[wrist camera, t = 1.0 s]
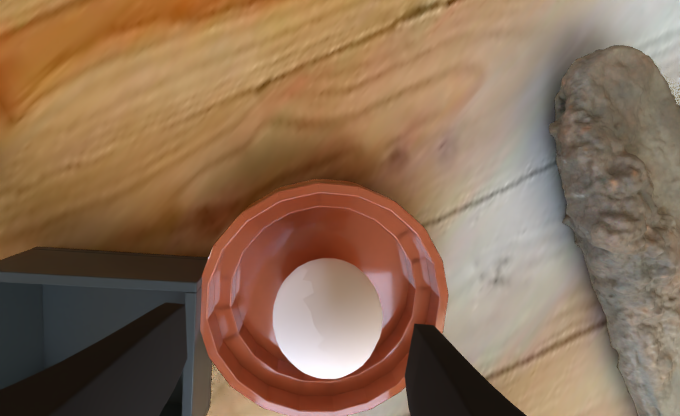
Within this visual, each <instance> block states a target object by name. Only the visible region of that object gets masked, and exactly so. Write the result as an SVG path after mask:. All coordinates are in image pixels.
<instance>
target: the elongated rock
mask: <svg viewBox="0 0 680 416" xmlns="http://www.w3.org/2000/svg"><path fill="white" fill-rule="evenodd" d="M554 101H555V102H556V104H555V113H556V114H555V119H556V121H554V122H553V123H551V124H550V125H549V131H550V134H551V135H552V136H554V137H555V141H556V153H557V156H556V163H557V166H558V171H559V174H560V175H561V180H562V188H563V190H564V191H565V193H564V196H565V198H566V201H567V204H568V205H567V207H566V213H567V215H566V216H565V218H564V220H563V224H565V225H567V226H569V227H570V228H571V229H572V230H573V231H574V233H575V239H576V240H575V244H576V245H577V246H579V247H580V248H581V249H582V251H583V254H584V258H585V262H586V266H587V269H588V271H589V275H590V281H591V283H592V288H593V289H594V290H595V293H596V294H597V296H598V300H599V302H600V303H601V305H602V307H603V308H602V310H603V311H604V313H605V315H606V318H607V328H608V331H609V333H608V334H609V337H610V339H611V342H610V343H611V347H613V348H615V349H616V350H617V352H618V353H619V362H618V365H617V368H618V369H619V371H620V373H621V374H622V375H623V378H624V381H625V383H626V386H627V388H628V392H629V393H630V395H631V397H632V399H633V401H634V404H635V407H636V411H637V414H638V416H680V106H678V105H677V104H676V101H675V99H674V96H673V95H672V94H671V90H670V88H669V86H668V83H667V81H666V80H665V79H664V77H663V76H662V75H661V73H660V71H659V69H658V67H657V66H656V65H655V64H654V62H653V60H652V59H651V58H650V57H649V56H647V55H645V54H644V53H643V52H642V51H640V50H638V49H635V48H633V47H629V46H624V45H614V46H611V47H609V48H606V49H604V50H596V51H595V52H593V53H591V54H589V55H586V56H584V57H581V58H579V59H577V60H575V61H574V63H573V64H572V65H571V67H570V68H569V69H568V70H567V73H566V74H565V75H564V77H563V78H562V83H561V89H560V91H559V92H558V93H557V95H556V97H555V100H554Z"/></svg>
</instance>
